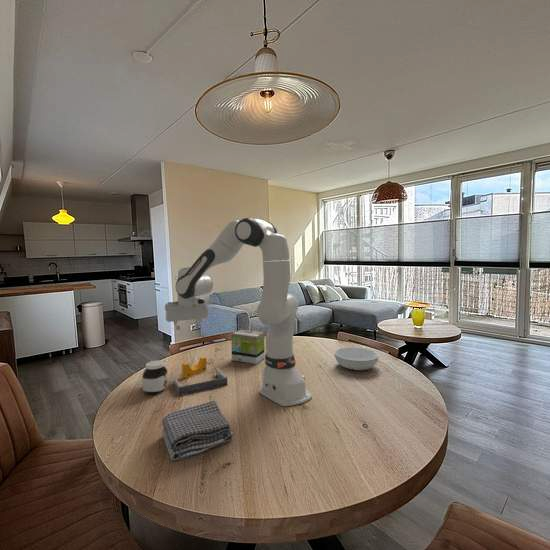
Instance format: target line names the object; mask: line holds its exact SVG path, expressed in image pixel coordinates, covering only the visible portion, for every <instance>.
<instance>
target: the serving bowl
mask: <svg viewBox="0 0 550 550" xmlns="http://www.w3.org/2000/svg"><path fill="white" fill-rule="evenodd" d="M334 358H335V360H336V362H337V363H338V364H339V365H340V366H341V367H343V368H346V369H349V370H352V369H353V371H365V370H370V369H372V368H374V367H375V366H376V365H377V363H378V361H379V353H377V352H375V351H374V350H371V349H369V348H368V349H367V348H362V347H356V346H355V347H354V346H353V347H340V348H338V349H336V350H334Z"/></svg>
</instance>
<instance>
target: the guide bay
mask: <svg viewBox="0 0 550 550" xmlns="http://www.w3.org/2000/svg"><path fill="white" fill-rule="evenodd" d="M215 375H216V376H217V378H216V379H211V380H206V381H203V382H195V383H193V384H187V385H183V386H181V384H180V382H179V380H178V378H177V376H172V377H173V378H172V379H173V380H172V381H173V385H174V388H175V387H176V388H175V389H177V390H176V392H177V393H178V396H179V395H180V396H183V394H184V395H188V393H189V394H193V393H197V392H201V391H206V390H209V389H210V390H211V389H214V388H219V387H220V388H221V387H223V386H227V385H228V377H227V376H226V375H225V374H224V372H223V371H222V370H221V369H220V368H218V367H216V368H215ZM192 392H193V393H192Z"/></svg>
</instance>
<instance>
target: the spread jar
mask: <svg viewBox="0 0 550 550" xmlns="http://www.w3.org/2000/svg"><path fill="white" fill-rule="evenodd" d="M164 365H165V363H164V361H163V360H151V361H149V362H146V363H145V370H144V372H143V373H142V377H141V380H140V381H141V386H142V391H143V392H144V393H146V394H147V395H151V394H154V395H159V394H162V393H163V392H164V391H166V388H168V387H167V386H168V385H169V384H168V383H169V377H168V376H169V374H168V372H169V371H168V369H167V366H164ZM158 393H159V394H158Z"/></svg>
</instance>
